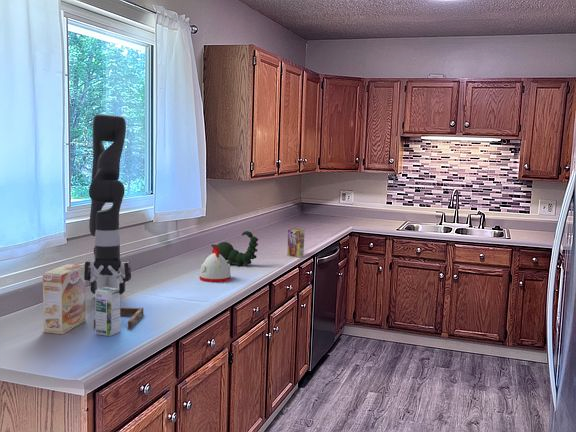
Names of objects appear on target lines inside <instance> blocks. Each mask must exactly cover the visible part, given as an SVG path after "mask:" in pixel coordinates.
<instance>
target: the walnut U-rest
mask: <svg viewBox="0 0 576 432" xmlns="http://www.w3.org/2000/svg"><path fill="white" fill-rule="evenodd" d="M120 316H131V317H130V318H129V319H128V321H127V329H129V330H132V329H133V328H134V326H136V324H137V323H138V322H139V321H140V320H141V319H142V317H143V316H144V308H143V307H125V306H123V307H121V306H120ZM93 328H96V318H95V319H93Z"/></svg>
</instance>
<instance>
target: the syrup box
mask: <svg viewBox="0 0 576 432" xmlns="http://www.w3.org/2000/svg"><path fill="white" fill-rule="evenodd" d="M94 298H95V299H94V300H95V301H94V303H95V308H94V309H95V310H94V311H95V319H96V327H94V328H95V335H101V336H107V337H112V336H113V335H116V334H118V333H120V332H121V315H120V307H121V294H119V289H117V288H109V287H103V288H99V289H97V290H95V297H94Z"/></svg>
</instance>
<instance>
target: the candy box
mask: <svg viewBox="0 0 576 432" xmlns="http://www.w3.org/2000/svg"><path fill="white" fill-rule="evenodd" d="M305 234H306V233H305V229H303V228H297V227H289V228H287V250H286V251H287V254H286V255H287V256H289V255H290V256H289V257H294V256H295V257H294V258H304V255H305V253H304V252H305Z"/></svg>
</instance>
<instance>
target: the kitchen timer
mask: <svg viewBox="0 0 576 432" xmlns="http://www.w3.org/2000/svg"><path fill="white" fill-rule="evenodd" d="M231 276H232V275H231V266H230V264H228V261H227V260H225V259H224V257H223V256H221V255H220V254H219V251H218V248H217V247H216V246H214V248H213V247H212V250H211V254H210V255H208V256H207V257H206V259H205V260H204V261H203V263H201V265H200V272H199V281H202V282H203V283H204V282H205V283H214V282H218V283H226V282H229V281H230V280H232V279H231V278H232V277H231ZM225 281H226V282H225Z"/></svg>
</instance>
